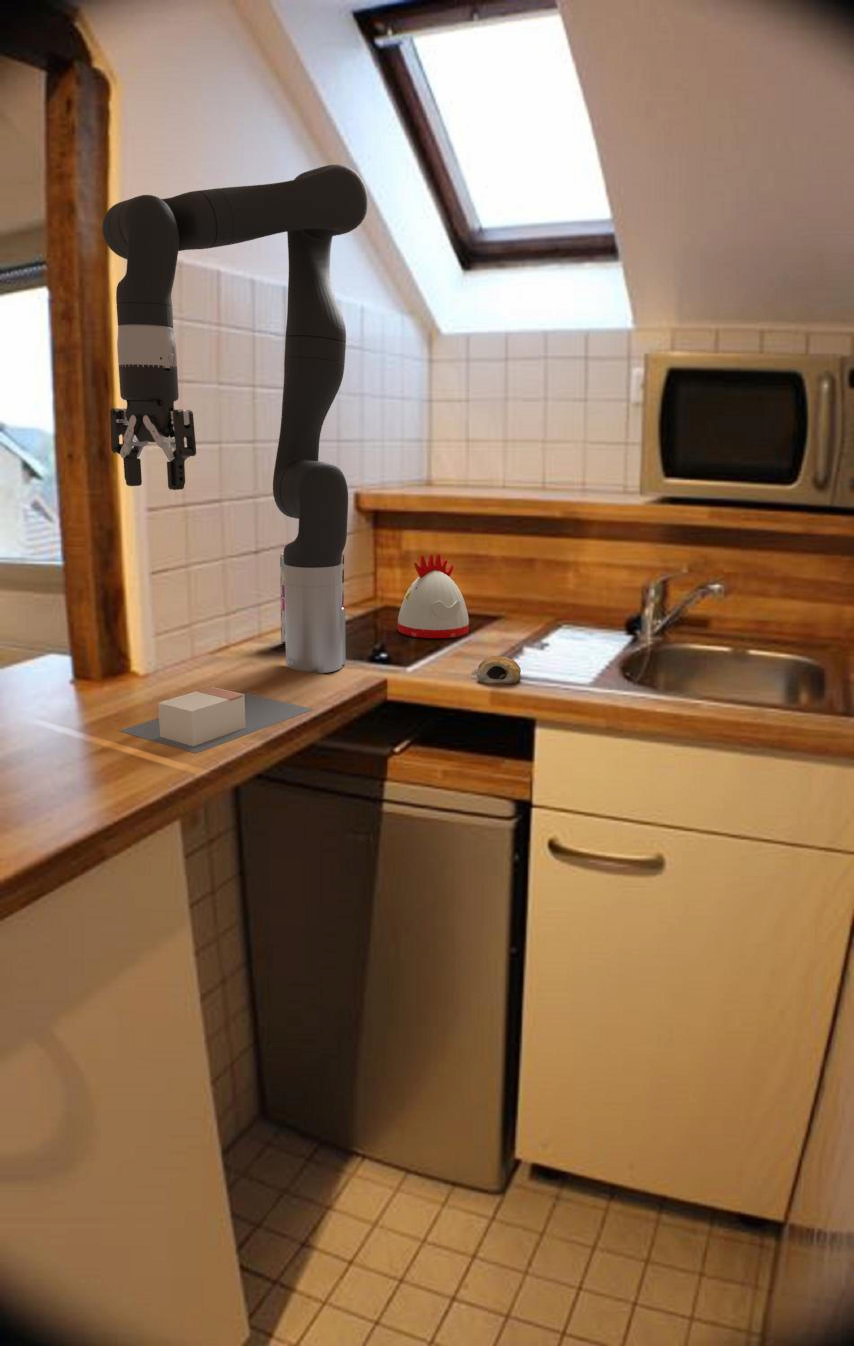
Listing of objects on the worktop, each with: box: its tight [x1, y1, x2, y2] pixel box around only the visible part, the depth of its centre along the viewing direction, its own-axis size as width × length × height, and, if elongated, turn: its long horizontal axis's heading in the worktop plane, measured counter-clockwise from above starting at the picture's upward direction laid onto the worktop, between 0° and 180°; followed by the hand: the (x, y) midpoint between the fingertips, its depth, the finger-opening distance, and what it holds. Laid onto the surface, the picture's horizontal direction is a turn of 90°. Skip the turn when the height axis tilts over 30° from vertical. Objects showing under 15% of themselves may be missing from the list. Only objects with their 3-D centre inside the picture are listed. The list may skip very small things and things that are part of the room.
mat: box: [118, 691, 315, 754], centre depth 125 cm, size 22×14×1 cm, turn 147°
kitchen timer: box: [397, 553, 470, 639], centre depth 181 cm, size 14×14×15 cm
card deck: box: [157, 686, 246, 746], centre depth 119 cm, size 6×9×5 cm, turn 146°
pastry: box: [476, 655, 522, 685], centre depth 150 cm, size 9×7×4 cm
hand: (154, 487), depth 128 cm, fingers open, 8 cm apart
